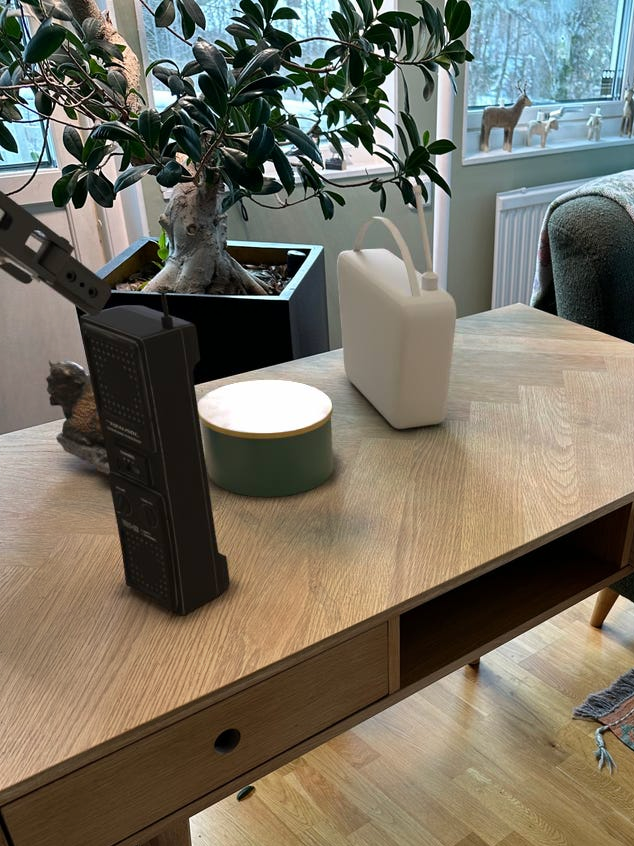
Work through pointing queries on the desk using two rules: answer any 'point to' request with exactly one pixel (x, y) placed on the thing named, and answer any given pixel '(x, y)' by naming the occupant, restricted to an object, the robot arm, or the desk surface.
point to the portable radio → (155, 452)
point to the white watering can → (396, 329)
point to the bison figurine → (77, 413)
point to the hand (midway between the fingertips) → (66, 286)
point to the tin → (267, 437)
